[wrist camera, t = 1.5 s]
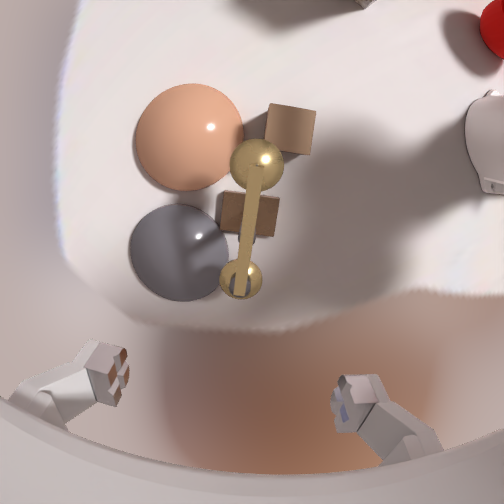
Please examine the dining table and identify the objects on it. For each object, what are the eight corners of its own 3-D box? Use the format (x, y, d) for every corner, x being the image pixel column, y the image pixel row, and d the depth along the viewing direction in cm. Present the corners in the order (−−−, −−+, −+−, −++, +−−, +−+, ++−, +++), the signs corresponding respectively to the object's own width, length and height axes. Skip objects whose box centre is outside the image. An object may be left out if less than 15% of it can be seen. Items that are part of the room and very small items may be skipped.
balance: (286, 146, 35) (304, 143, 22) (265, 279, 41) (269, 337, 28) (231, 138, 34) (217, 131, 22) (216, 273, 41) (199, 328, 28)
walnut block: (306, 117, 33) (316, 111, 28) (301, 154, 35) (309, 155, 29) (267, 110, 33) (269, 103, 27) (262, 148, 35) (263, 147, 29)
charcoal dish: (234, 210, 38) (233, 212, 36) (223, 303, 42) (222, 307, 41) (134, 199, 37) (131, 200, 36) (134, 289, 42) (132, 293, 41)
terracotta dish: (250, 90, 32) (250, 88, 31) (236, 195, 37) (235, 196, 36) (146, 85, 32) (143, 83, 31) (135, 185, 36) (131, 186, 35)
